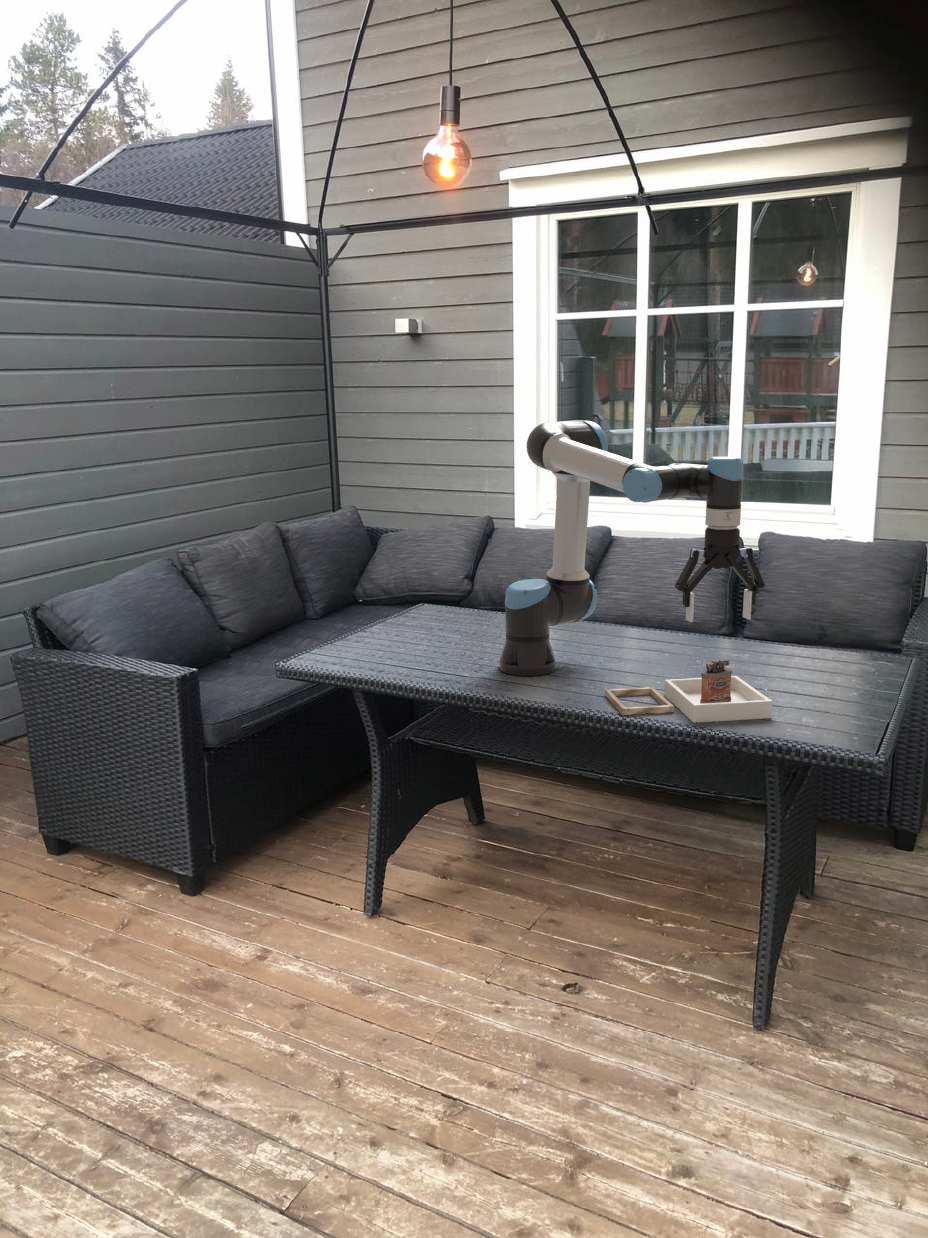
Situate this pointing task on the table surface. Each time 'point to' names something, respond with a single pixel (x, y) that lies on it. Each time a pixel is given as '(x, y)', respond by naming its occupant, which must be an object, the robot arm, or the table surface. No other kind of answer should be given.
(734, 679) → the tray
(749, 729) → the table surface
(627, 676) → the table surface
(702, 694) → the lighter
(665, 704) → the holder
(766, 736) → the table surface
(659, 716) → the table surface
